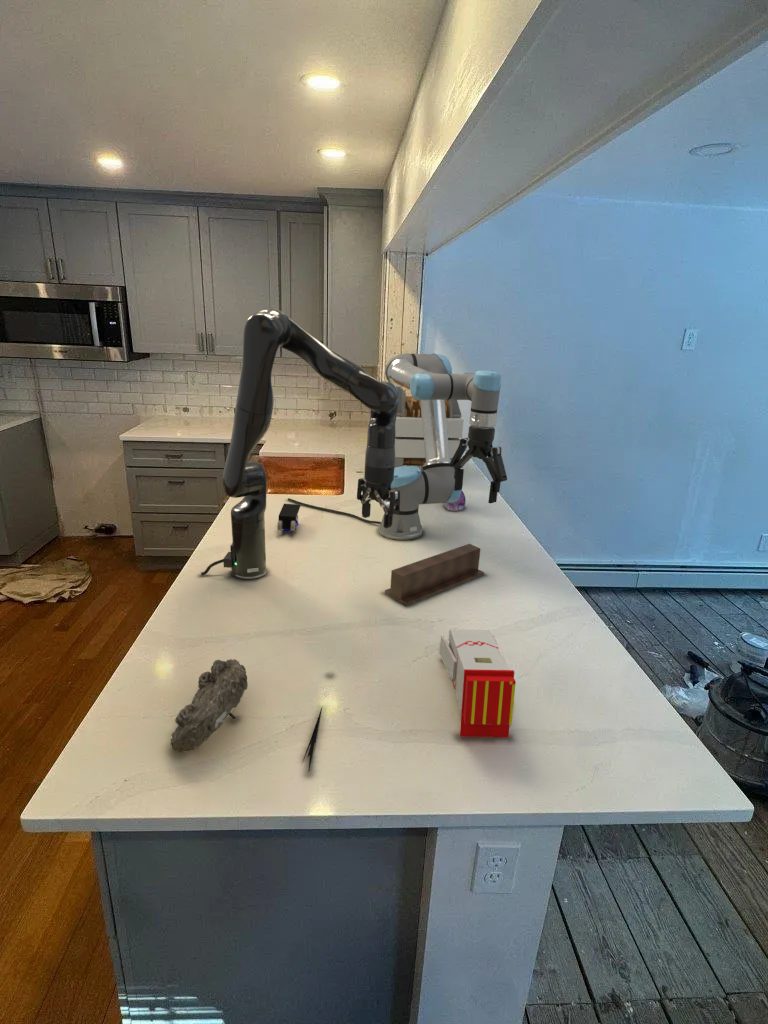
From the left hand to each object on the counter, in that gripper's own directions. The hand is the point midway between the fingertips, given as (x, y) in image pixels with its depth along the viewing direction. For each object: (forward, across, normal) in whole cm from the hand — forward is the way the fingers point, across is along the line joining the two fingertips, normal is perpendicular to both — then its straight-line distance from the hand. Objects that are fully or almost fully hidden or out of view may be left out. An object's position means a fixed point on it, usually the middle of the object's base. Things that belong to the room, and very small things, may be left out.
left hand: (376, 522), depth 149 cm
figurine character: (+23, -54, +8) cm, 59 cm away
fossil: (+21, +19, -56) cm, 62 cm away
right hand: (-1, +2, +37) cm, 37 cm away
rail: (+22, +6, +19) cm, 30 cm away
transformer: (+23, -80, +98) cm, 129 cm away
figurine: (+22, -36, +74) cm, 86 cm away
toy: (+21, +45, -11) cm, 50 cm away
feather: (+21, +32, -41) cm, 56 cm away
